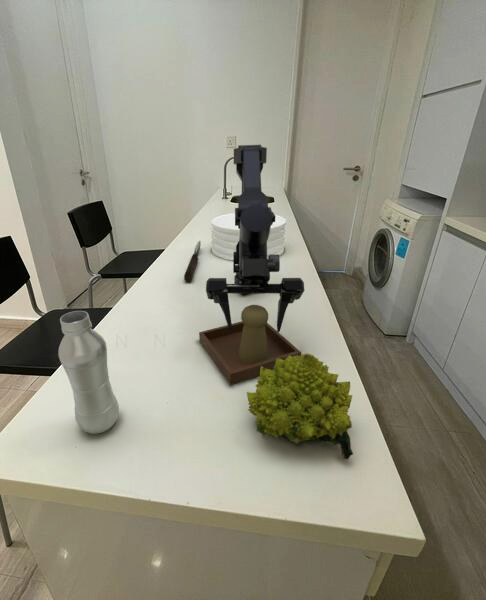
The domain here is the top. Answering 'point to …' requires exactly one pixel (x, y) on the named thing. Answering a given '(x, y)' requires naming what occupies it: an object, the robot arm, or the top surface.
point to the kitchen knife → (192, 264)
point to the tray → (226, 351)
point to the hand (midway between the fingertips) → (254, 331)
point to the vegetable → (302, 402)
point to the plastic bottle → (87, 373)
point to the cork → (253, 335)
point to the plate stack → (228, 236)
